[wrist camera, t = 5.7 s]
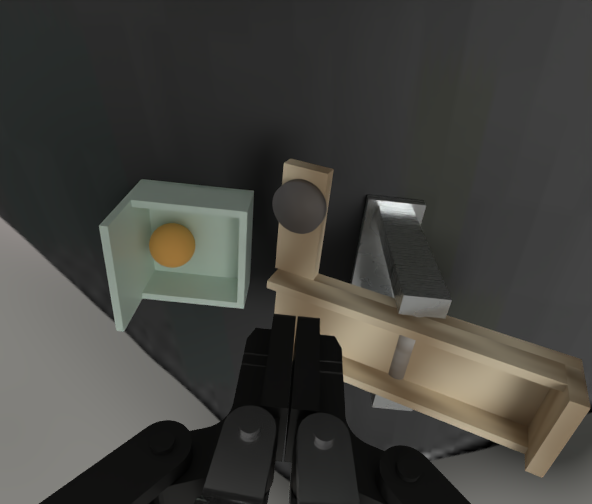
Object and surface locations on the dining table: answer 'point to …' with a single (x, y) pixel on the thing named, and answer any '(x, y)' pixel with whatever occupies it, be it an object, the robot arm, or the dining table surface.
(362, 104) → the dining table surface
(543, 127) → the dining table surface
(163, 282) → the pale green cubby shelf
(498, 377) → the lever
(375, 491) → the robot arm
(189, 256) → the ball
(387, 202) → the fulcrum
